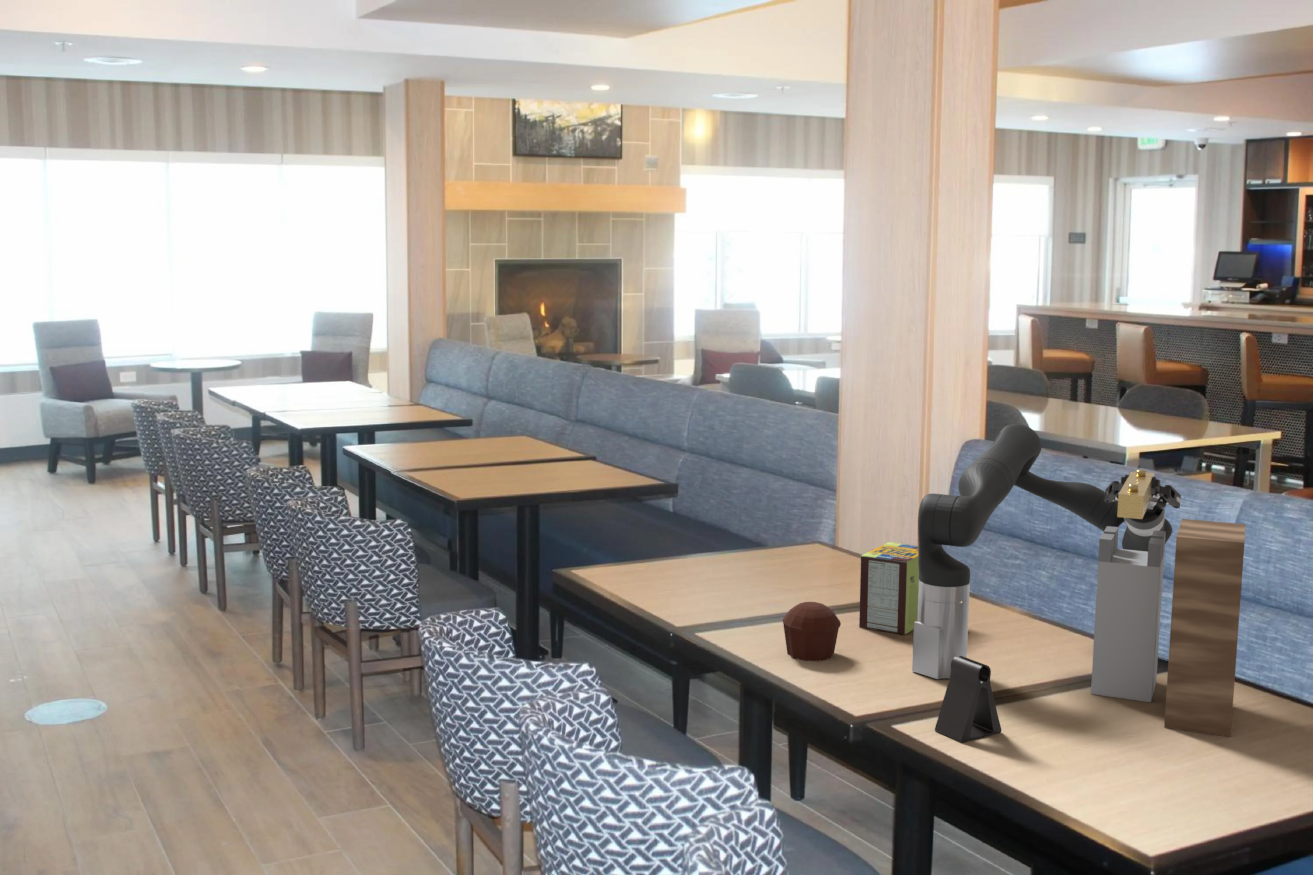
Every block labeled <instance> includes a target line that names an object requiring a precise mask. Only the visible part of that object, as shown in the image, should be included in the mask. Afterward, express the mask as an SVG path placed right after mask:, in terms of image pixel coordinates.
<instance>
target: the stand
mask: <svg viewBox="0 0 1313 875" xmlns="http://www.w3.org/2000/svg"><path fill="white" fill-rule="evenodd" d="M1245 539H1246V524H1245V523H1237V522H1235V523H1234V522H1225V521H1213V520H1202V519H1189V518H1181V521H1180V524H1179V527H1178V531H1177V534H1176V538H1175V553H1174V554H1175V556H1174V568H1173V569H1174V570H1173V571H1174V572H1173V583H1172V584H1173V585H1172V586H1173V587H1172V602H1171V618H1170V630H1169V631H1170V632H1169V647H1168V664H1167V665H1168V666H1167V679H1166V680H1167V681H1166V694H1165V696H1166V697H1165V708H1164V728H1167V729H1172V730H1173V729H1174V730H1180V731H1186V732H1194V733H1200V734H1207V735H1215V736H1222V737H1228V738H1230V737H1232V721H1233V710H1234V709H1233V707H1234V696H1235V695H1234V694H1235V682H1236V680H1235V679H1236V666H1237V651H1238V636H1239V626H1240V625H1239V622H1240V611H1241V609H1240V608H1241V600H1242V598H1241V597H1242V596H1241V595H1242V583H1243V571H1244V570H1243V569H1244V556H1245V554H1244V553H1245V541H1246V540H1245Z"/></svg>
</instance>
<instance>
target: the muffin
mask: <svg viewBox="0 0 1313 875" xmlns="http://www.w3.org/2000/svg"><path fill="white" fill-rule="evenodd" d="M781 620H782V624H783V630H784V631H783V632H784V637H785V647H786V654H787V655H788V656H790V657H791V658H792V659H794V660H800V661H804V662H823V661H826V660H831V659H832V657H833V656H834V655H835V649H836V645H837V639H838V634H839V628H840V627H841V624H842V623H841V620H840V619H839V617H838V616H837V615H836V613H835V612H834V610H833V609H831V608H830V607H829V606H827V605H826V604H825V603H821V602H816V601H804V602H800V603H798V604H796V605H794V606H793V607H791V608H790V609H789V610H788V611H787V613H786V614H785V616H784V617H782V619H781Z"/></svg>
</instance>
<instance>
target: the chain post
mask: <svg viewBox="0 0 1313 875" xmlns="http://www.w3.org/2000/svg"><path fill="white" fill-rule="evenodd" d="M1119 527H1120V526H1119ZM1119 527H1111V526H1107V527H1106V529H1105V530H1104V531H1103V532H1102V534H1101V536H1100V537H1099V539H1098V540H1099V543H1098V544H1099V545H1098V561H1097V562H1098V563H1097V574H1096V575H1097V577H1096V578H1097V580H1096V593H1095V594H1096V596H1095V597H1096V599H1095V611H1094V612H1095V614H1094V628H1093V629H1094V630H1093V650H1092V651H1093V652H1092V667H1091V668H1092V669H1091V685H1090V694H1091V695H1094V696H1095V695H1097V696H1103V697H1110V698H1116V699H1122V700H1123V699H1125V700H1131V701H1138V702H1139V701H1140V702H1146V703H1147V702H1148V703H1152V700H1153V697H1154V692H1155V689H1156V685H1157V676H1158V675H1157V674H1158V660H1159V642H1160V629H1161V627H1160V626H1161V612H1162V611H1161V610H1162V596H1163V584H1164V583H1163V581H1164V580H1163V579H1164V566H1165V565H1164V563H1165V548H1166V547H1165V546H1166V544H1165V535H1166V531H1156V530H1154V531H1153V534H1152V538H1150V541H1149V544H1148V552H1146V551H1136V550H1125V549H1123V548H1118V543H1119V542H1118V541H1119Z"/></svg>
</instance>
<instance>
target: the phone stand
mask: <svg viewBox="0 0 1313 875" xmlns="http://www.w3.org/2000/svg"><path fill="white" fill-rule="evenodd" d="M959 657H960V658H959ZM959 657H956V656H955V657H954V658H953V660H952V662H951V675H950V678H948V679H949V680H948V683H947V686H946V690H945V693H944V697H943V700H942V703H941V706H940V709H939V712H938V716H937V720H936V723H935V727H934V731H935V732H936V733H939V734H942V735H944V736H946V737H948V738H950V739H953V740H954V741H957V742H959V743H961V744H964V743H968V742H971V741H974V740H975V741H976V740H978V739H981V738H983V739H984V738H986V737H987V738H988V737H990V736H994V735H998V734H1001V733H1002V728H1001V722H1000V718H999V714H998V711H997V706H996V702H995V698H994V694H993V690H992V689H993V688H992V685H991V675H992V670H991V668H990V666H989V665H987V664H984V663H982V662H979V661H976V660H973V659H970V658H969V657H967V658H965V657H963V656H959Z"/></svg>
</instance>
